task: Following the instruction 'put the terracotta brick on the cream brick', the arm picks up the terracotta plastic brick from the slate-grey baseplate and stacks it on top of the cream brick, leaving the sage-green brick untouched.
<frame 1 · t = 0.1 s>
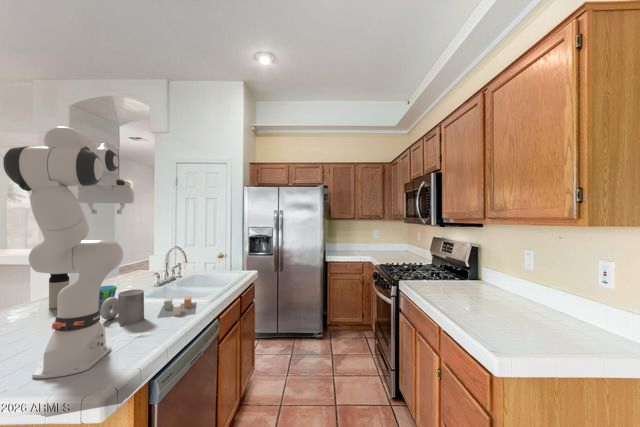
hand: (106, 213, 134), 48 cm above the counter, tool pointing down, fingers open, 8 cm apart
terracotta brick: (187, 305, 156), point 1 cm above the counter, touching baseplate
baseplate: (178, 311, 150), on the counter
sage brick: (168, 307, 153), point 1 cm above the counter, touching baseplate
travel mug: (59, 307, 157), on the counter
donut: (110, 319, 140), on the counter
cream brick: (177, 313, 145), point 1 cm above the counter, touching baseplate
pillar candle: (131, 323, 135), on the counter
snack cup: (104, 308, 157), on the counter
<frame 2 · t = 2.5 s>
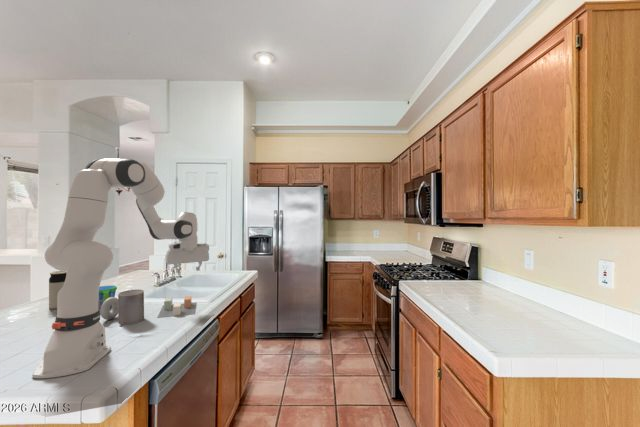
hand: (188, 271, 156), 19 cm above the counter, tool pointing down, fingers open, 8 cm apart
nothing on the counter moved.
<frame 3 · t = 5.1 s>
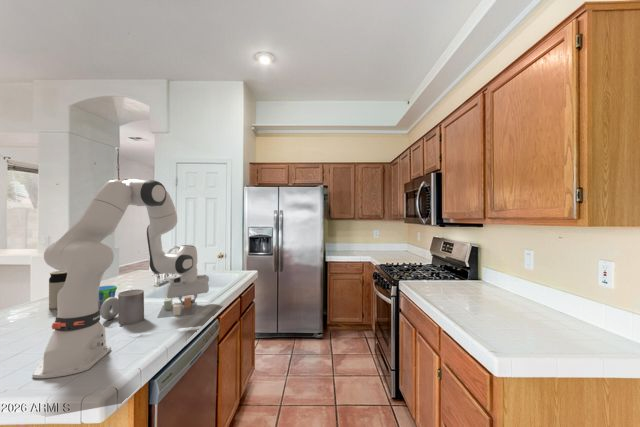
hand: (187, 304, 156), 2 cm above the counter, tool pointing down, fingers closed on terracotta brick, 4 cm apart
terracotta brick: (187, 305, 156), point 1 cm above the counter, touching baseplate, gripper
everything else where it was.
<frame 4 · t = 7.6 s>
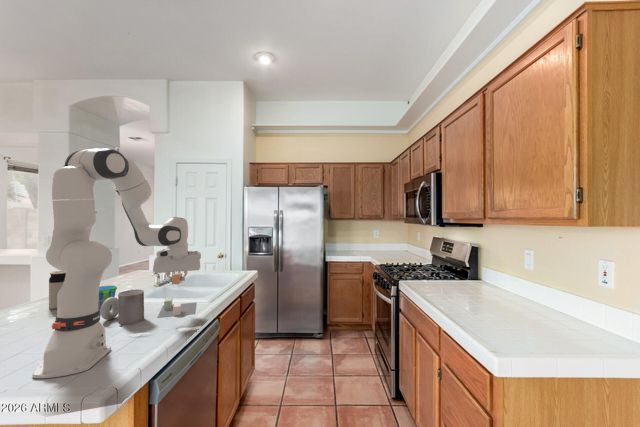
hand: (177, 281, 145), 16 cm above the counter, tool pointing down, fingers closed on terracotta brick, 4 cm apart
terracotta brick: (177, 283, 145), point 15 cm above the counter, touching gripper
everything else where it was.
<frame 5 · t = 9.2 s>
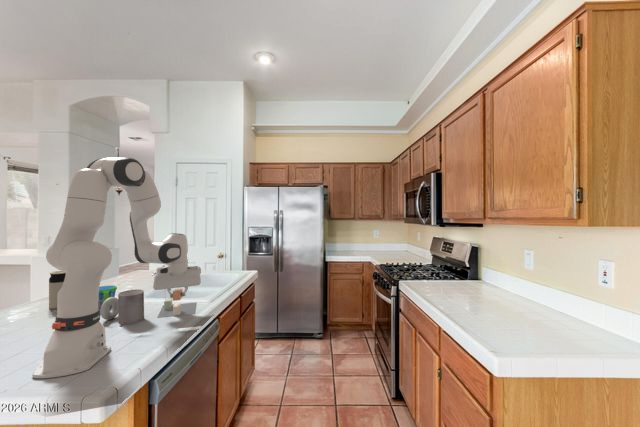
hand: (177, 296, 145), 9 cm above the counter, tool pointing down, fingers closed on terracotta brick, 4 cm apart
terracotta brick: (177, 298, 145), point 8 cm above the counter, touching gripper
everything else where it was.
when the fingers open (7 cm above the counter, at t = 10.2 s): terracotta brick drops 1 cm, resting on cream brick.
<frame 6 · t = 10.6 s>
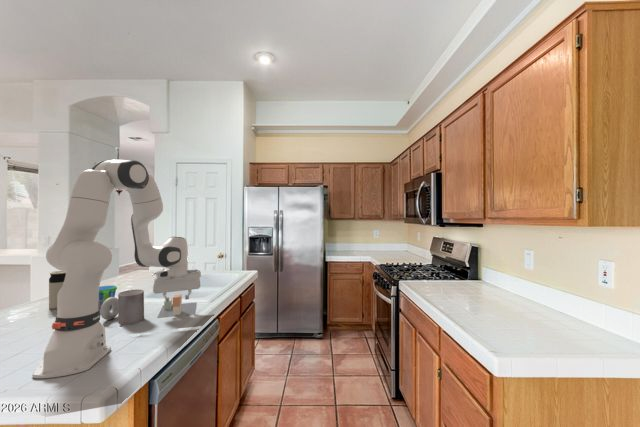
hand: (177, 300, 144), 7 cm above the counter, tool pointing down, fingers open, 7 cm apart
terracotta brick: (177, 304, 145), point 5 cm above the counter, touching cream brick
cream brick: (177, 313, 145), point 1 cm above the counter, touching baseplate, terracotta brick
everything else where it was.
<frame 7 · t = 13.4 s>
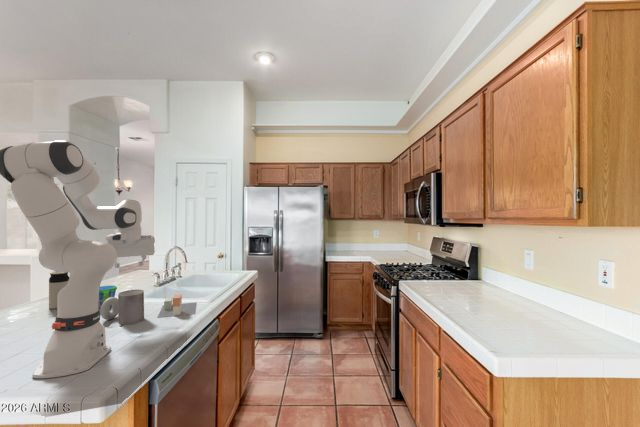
hand: (129, 266, 139), 24 cm above the counter, tool pointing down, fingers open, 8 cm apart
nothing on the counter moved.
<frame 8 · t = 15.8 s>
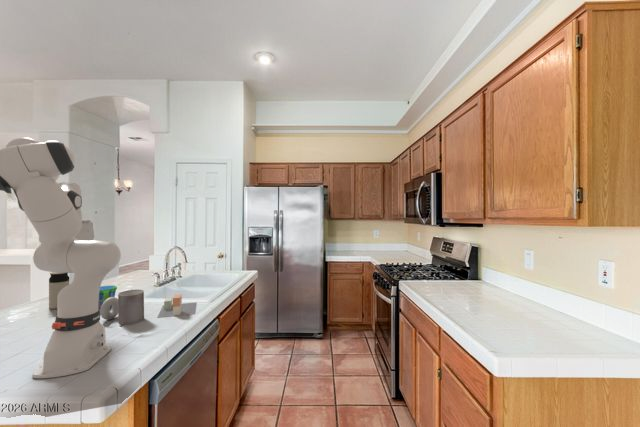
hand: (68, 252, 133), 31 cm above the counter, tool pointing down, fingers open, 8 cm apart
nothing on the counter moved.
at the end: terracotta brick 0.0 cm off-centre on the cream brick, point 4.0 cm above the cream brick's base; sage brick moved 0.0 cm from its start; cream brick moved 0.0 cm from its start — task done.
